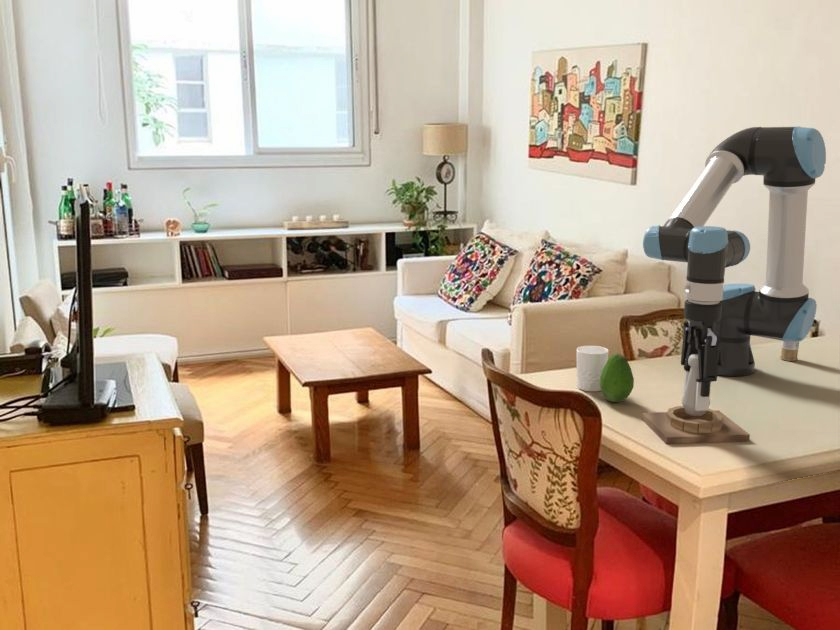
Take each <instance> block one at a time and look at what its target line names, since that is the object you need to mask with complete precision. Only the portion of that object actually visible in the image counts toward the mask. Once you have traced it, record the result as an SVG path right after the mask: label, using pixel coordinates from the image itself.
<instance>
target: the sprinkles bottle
mask: <svg viewBox="0 0 840 630" xmlns="http://www.w3.org/2000/svg"><path fill="white" fill-rule="evenodd" d="M799 345H800V342H790V341H785V342H783V341H781V350H780V351H781V352H780V359H781V360H784V361H786V362H787V361H788V362H795V361H798V360H799V359H798V355H799V354H798V353H799V348H800V346H799Z"/></svg>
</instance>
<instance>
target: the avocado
mask: <svg viewBox="0 0 840 630" xmlns="http://www.w3.org/2000/svg"><path fill="white" fill-rule="evenodd" d="M630 365H631V364H630V363H629V361H628V360H627V358H626V357H625V356H624V355H622V354H620V353H614V354H611V355H610V356H609V357H608V361H607V363H606V365H605V366H604V368H603V371H602V373H601V376H600V387H601V391H600V392H601V394H602V395H603V397H604V398H605V399H606V400H607V401H610V402H613V403H620V402H623V401H624V400H626V399H627V398H628V397H630V395H631V393H632V391H633V389H634V384H635V378H634V376H633V375H634V374H633V371H632V368H631V366H630Z"/></svg>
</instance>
